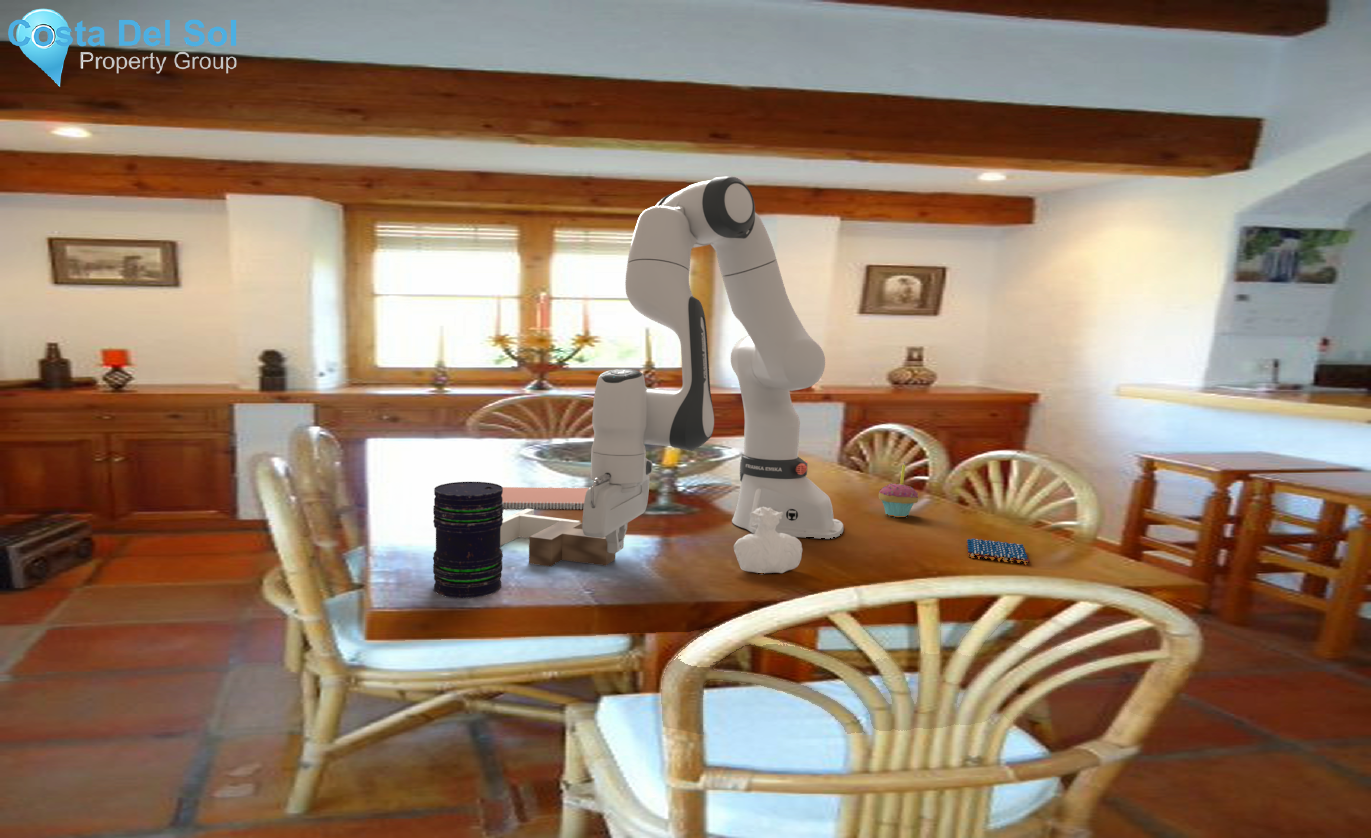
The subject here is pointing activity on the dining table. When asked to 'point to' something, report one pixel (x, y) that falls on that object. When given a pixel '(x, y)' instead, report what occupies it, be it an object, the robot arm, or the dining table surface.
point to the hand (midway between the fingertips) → (615, 551)
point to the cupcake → (898, 497)
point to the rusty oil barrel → (467, 539)
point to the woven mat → (997, 549)
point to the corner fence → (525, 525)
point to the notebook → (543, 498)
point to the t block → (567, 546)
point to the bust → (767, 546)
